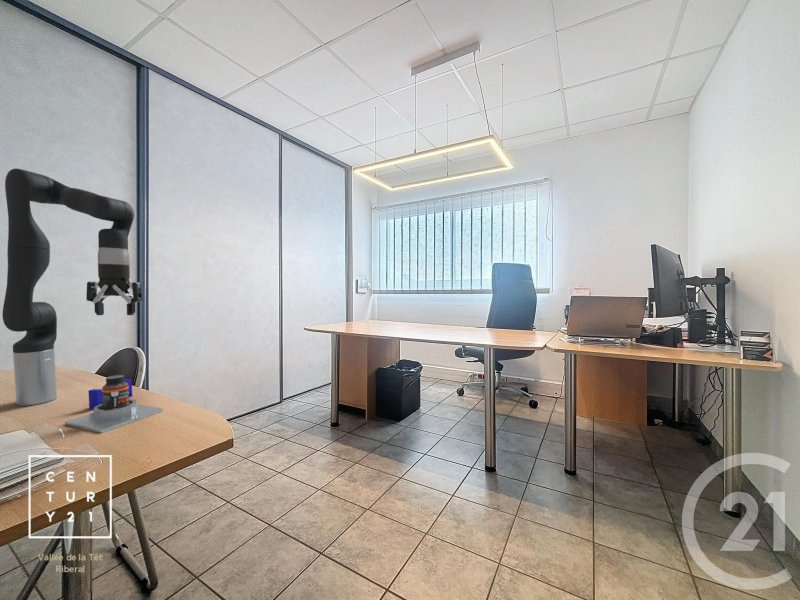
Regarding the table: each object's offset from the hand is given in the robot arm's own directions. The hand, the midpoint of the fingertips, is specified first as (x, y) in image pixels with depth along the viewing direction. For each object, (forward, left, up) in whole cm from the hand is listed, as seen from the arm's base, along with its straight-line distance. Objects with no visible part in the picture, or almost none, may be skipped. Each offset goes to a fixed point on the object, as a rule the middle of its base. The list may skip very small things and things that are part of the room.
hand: (115, 315), depth 105 cm
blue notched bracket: (-8, +2, -30) cm, 31 cm away
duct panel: (+9, -6, -29) cm, 31 cm away
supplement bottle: (+9, -6, -29) cm, 31 cm away
